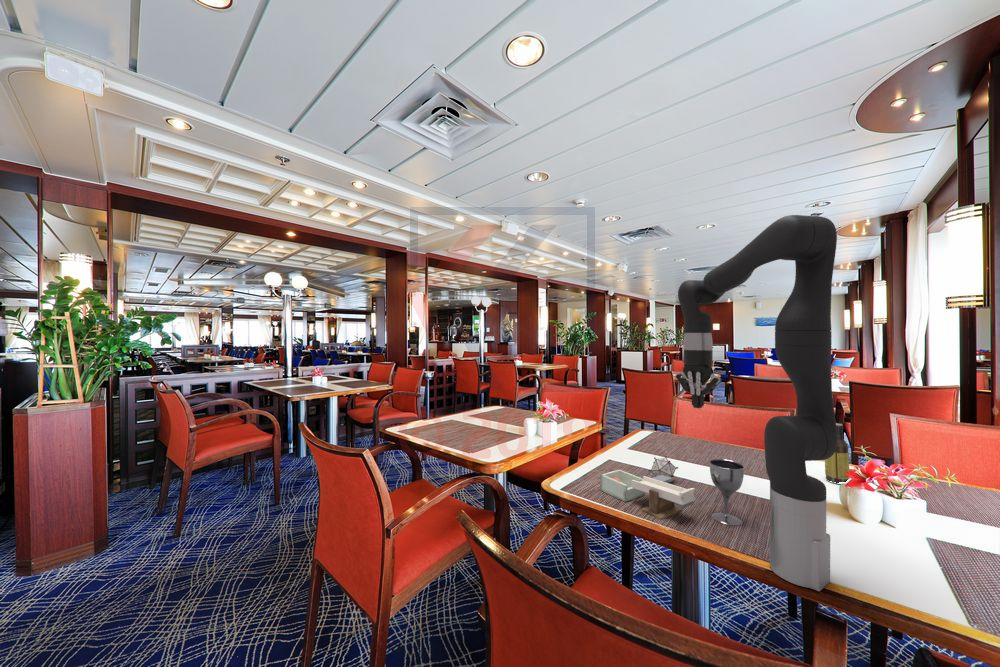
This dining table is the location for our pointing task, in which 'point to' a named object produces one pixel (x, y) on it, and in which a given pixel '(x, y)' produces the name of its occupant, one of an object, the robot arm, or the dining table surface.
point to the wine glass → (726, 486)
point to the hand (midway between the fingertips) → (697, 407)
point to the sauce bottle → (838, 460)
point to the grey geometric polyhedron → (663, 467)
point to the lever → (666, 490)
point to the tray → (620, 485)
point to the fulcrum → (660, 506)
